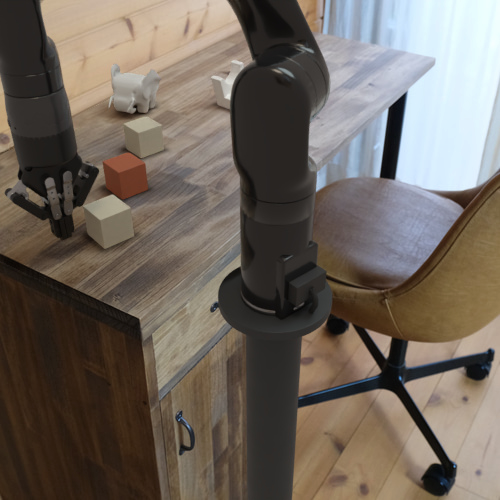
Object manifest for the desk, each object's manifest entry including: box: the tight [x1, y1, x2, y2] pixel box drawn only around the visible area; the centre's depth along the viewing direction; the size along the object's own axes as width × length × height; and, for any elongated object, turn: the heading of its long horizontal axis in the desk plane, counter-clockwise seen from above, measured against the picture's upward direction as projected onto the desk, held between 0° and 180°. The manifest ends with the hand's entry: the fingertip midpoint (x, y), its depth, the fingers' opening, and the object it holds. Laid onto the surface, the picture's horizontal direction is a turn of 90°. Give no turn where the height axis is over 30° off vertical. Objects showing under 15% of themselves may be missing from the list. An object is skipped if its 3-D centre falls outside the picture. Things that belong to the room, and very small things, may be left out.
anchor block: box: [102, 151, 149, 201], centre depth 105 cm, size 5×5×5 cm
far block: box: [122, 115, 165, 159], centre depth 116 cm, size 5×5×5 cm
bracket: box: [210, 59, 245, 110], centre depth 130 cm, size 13×7×8 cm, turn 49°
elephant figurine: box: [108, 63, 162, 115], centre depth 129 cm, size 10×12×9 cm
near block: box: [82, 193, 135, 250], centre depth 94 cm, size 5×5×5 cm
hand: (64, 236), depth 90 cm, fingers closed
